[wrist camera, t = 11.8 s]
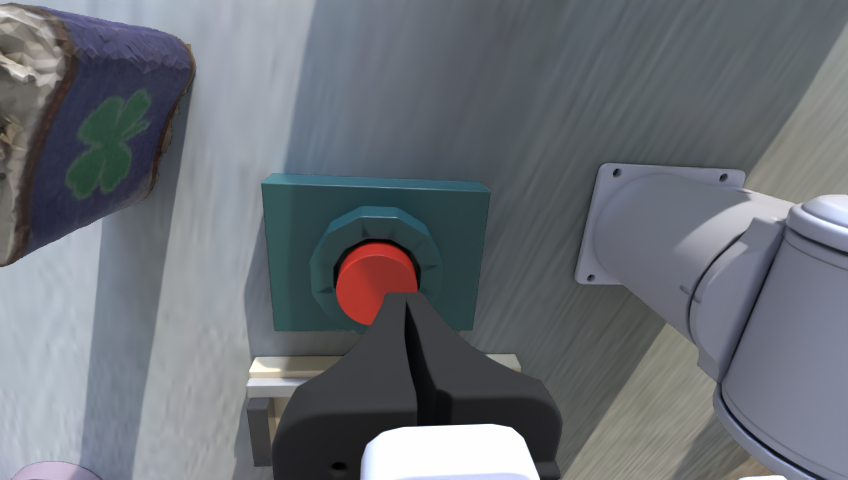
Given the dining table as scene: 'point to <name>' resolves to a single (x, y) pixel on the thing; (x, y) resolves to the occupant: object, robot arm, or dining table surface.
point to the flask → (80, 119)
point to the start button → (373, 279)
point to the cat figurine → (54, 472)
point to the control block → (370, 222)
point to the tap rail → (278, 383)
